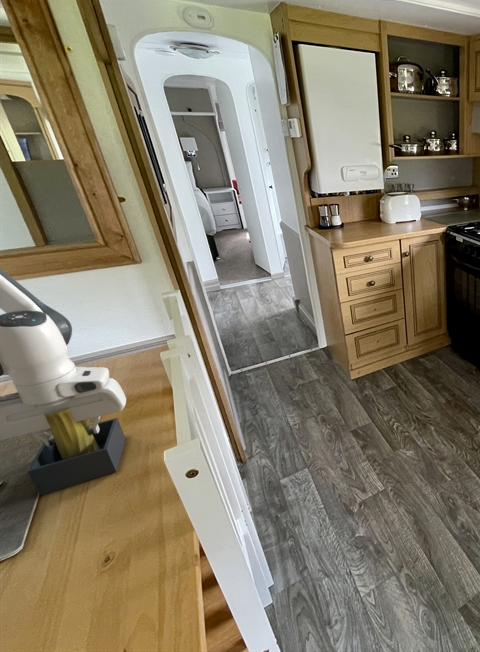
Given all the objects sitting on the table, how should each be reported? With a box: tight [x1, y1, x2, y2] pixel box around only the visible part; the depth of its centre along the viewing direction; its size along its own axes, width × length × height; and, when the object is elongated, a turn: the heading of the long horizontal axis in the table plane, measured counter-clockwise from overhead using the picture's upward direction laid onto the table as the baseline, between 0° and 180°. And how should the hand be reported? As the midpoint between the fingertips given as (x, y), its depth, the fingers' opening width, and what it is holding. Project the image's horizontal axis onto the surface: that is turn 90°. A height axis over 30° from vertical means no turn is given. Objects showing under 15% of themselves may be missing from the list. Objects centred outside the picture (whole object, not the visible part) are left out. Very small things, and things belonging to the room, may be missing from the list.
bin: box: [26, 417, 126, 496], centre depth 85 cm, size 12×12×7 cm
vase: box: [44, 408, 100, 460], centre depth 83 cm, size 6×6×14 cm
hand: (74, 438), depth 83 cm, fingers closed on vase, 5 cm apart
